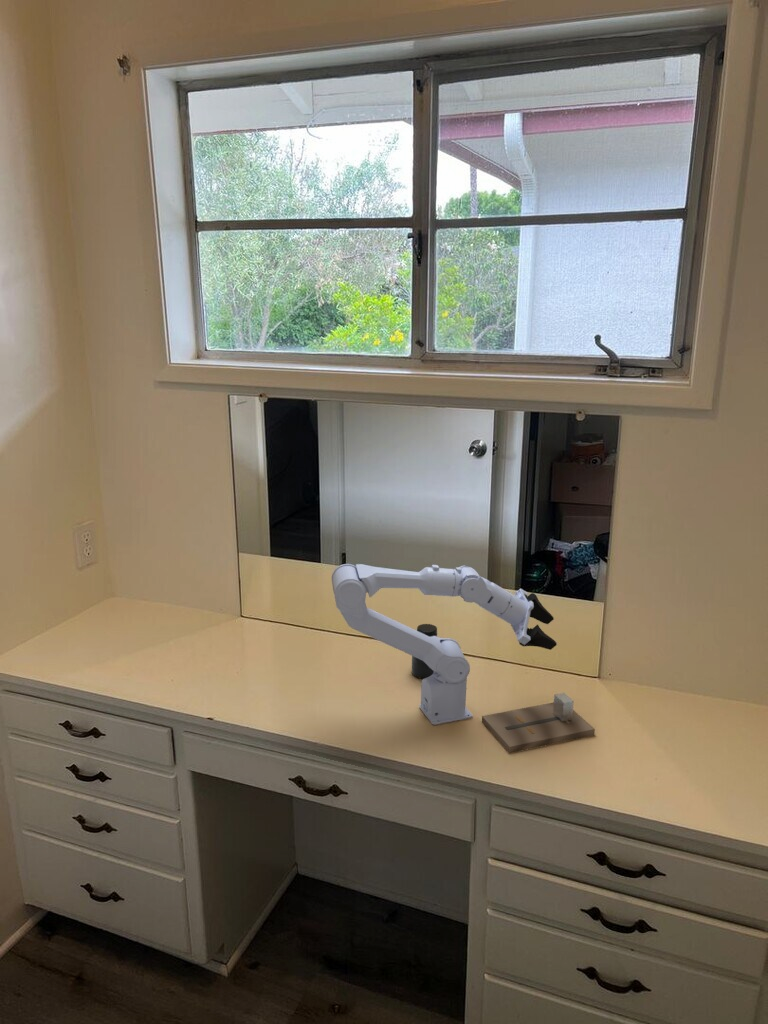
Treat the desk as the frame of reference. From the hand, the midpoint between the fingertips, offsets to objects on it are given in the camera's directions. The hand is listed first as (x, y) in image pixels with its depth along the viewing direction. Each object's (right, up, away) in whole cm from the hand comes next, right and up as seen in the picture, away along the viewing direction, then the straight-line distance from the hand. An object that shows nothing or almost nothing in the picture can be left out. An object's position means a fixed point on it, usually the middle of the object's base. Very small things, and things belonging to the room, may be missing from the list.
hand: (552, 633), depth 161 cm
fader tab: (+2, -17, -3) cm, 18 cm away
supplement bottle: (-26, -13, +19) cm, 35 cm away
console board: (-4, -20, -4) cm, 20 cm away
